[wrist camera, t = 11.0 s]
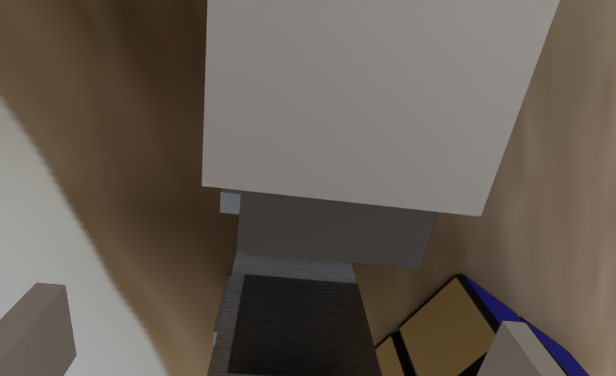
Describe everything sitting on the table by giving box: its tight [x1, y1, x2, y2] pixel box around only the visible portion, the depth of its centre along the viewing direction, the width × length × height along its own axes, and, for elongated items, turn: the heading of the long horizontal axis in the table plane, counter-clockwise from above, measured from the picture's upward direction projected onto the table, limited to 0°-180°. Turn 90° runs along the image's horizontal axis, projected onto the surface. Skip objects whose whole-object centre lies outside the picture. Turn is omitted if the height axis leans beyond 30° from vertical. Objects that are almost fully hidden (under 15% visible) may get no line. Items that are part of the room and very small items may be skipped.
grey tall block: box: [207, 252, 382, 376], centre depth 12 cm, size 5×4×9 cm
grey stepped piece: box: [202, 0, 560, 346], centre depth 11 cm, size 18×6×11 cm, turn 172°
